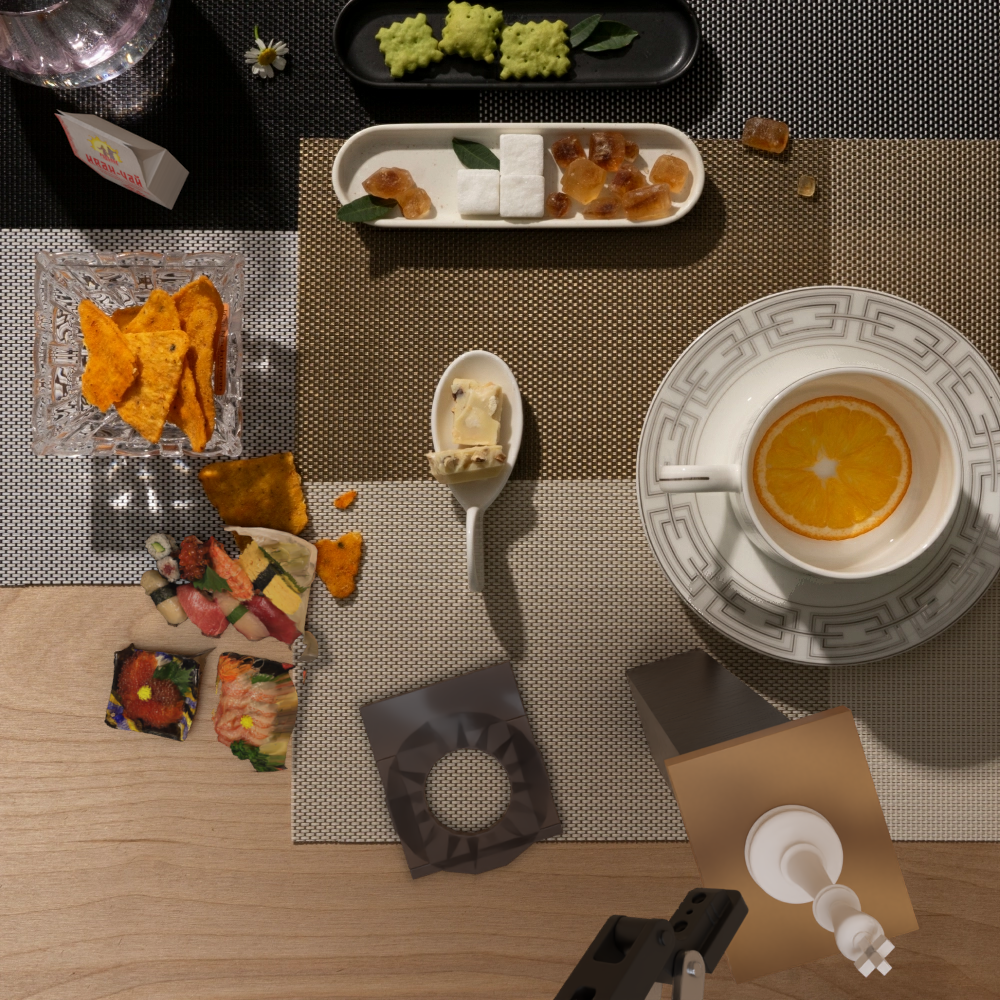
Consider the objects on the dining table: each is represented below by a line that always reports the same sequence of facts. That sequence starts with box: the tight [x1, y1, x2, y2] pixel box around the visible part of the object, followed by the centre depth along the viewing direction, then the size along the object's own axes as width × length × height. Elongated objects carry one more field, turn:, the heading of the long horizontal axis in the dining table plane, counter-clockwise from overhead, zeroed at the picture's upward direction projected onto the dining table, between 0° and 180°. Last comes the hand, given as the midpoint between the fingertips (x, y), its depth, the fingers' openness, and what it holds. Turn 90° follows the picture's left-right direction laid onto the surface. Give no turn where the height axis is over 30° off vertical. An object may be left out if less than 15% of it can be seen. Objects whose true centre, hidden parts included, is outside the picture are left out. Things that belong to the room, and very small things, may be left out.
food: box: [103, 524, 319, 773], centre depth 69 cm, size 22×19×4 cm
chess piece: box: [745, 805, 896, 978], centre depth 36 cm, size 5×5×10 cm
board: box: [358, 659, 564, 881], centre depth 70 cm, size 17×14×2 cm
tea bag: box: [54, 109, 190, 210], centre depth 66 cm, size 4×7×10 cm, turn 64°
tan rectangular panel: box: [664, 704, 920, 986], centre depth 41 cm, size 12×10×1 cm
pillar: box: [624, 647, 792, 803], centre depth 56 cm, size 8×7×29 cm
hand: (772, 987), depth 32 cm, fingers open, 8 cm apart
